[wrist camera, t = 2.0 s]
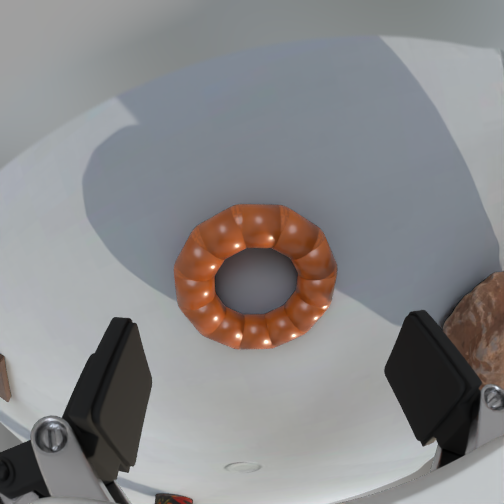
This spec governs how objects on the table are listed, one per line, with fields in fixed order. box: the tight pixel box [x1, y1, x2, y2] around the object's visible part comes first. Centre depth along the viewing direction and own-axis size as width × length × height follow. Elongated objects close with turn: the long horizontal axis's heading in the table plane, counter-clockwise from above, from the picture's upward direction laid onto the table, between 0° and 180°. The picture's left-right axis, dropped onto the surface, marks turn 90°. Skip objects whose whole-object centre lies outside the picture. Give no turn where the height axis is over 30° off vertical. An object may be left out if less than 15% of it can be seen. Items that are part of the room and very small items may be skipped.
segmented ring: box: [174, 204, 337, 349], centre depth 13 cm, size 7×7×2 cm
